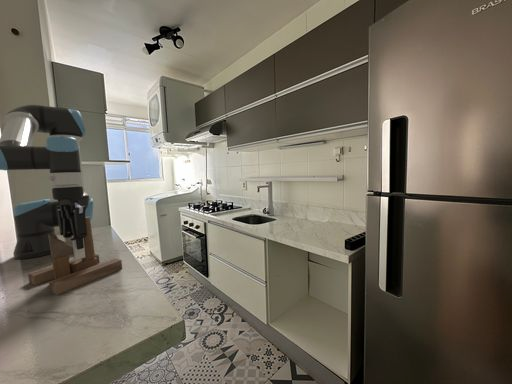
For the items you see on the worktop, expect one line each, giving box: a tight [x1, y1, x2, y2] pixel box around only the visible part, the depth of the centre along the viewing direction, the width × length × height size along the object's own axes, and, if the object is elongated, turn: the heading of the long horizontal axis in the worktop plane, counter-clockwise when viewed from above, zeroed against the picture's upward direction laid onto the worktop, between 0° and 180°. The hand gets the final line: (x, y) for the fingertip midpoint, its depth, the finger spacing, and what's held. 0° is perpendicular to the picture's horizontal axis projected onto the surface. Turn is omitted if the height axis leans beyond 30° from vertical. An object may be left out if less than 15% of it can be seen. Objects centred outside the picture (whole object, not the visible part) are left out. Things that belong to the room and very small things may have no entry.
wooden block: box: [48, 217, 99, 280], centre depth 70 cm, size 4×11×18 cm, turn 138°
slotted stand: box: [27, 253, 123, 296], centre depth 71 cm, size 18×18×3 cm
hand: (76, 257), depth 71 cm, fingers closed on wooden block, 4 cm apart
